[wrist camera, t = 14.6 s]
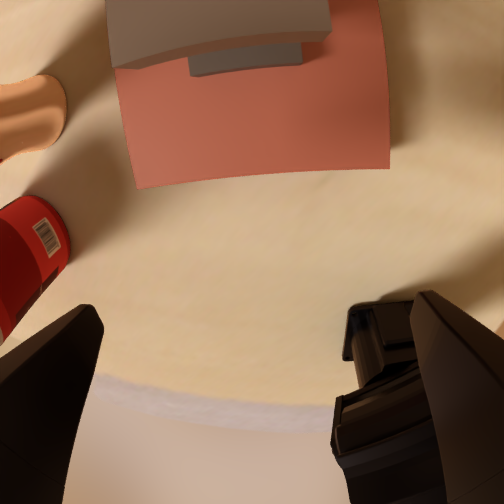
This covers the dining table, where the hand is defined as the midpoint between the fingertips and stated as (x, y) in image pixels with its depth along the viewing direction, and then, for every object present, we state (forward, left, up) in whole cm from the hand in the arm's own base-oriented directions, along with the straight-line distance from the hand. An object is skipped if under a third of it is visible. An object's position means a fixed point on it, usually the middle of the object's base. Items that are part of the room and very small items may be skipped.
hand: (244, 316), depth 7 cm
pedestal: (+10, 0, -10) cm, 14 cm away
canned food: (-2, +20, -13) cm, 24 cm away
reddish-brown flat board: (+10, 0, -12) cm, 16 cm away
